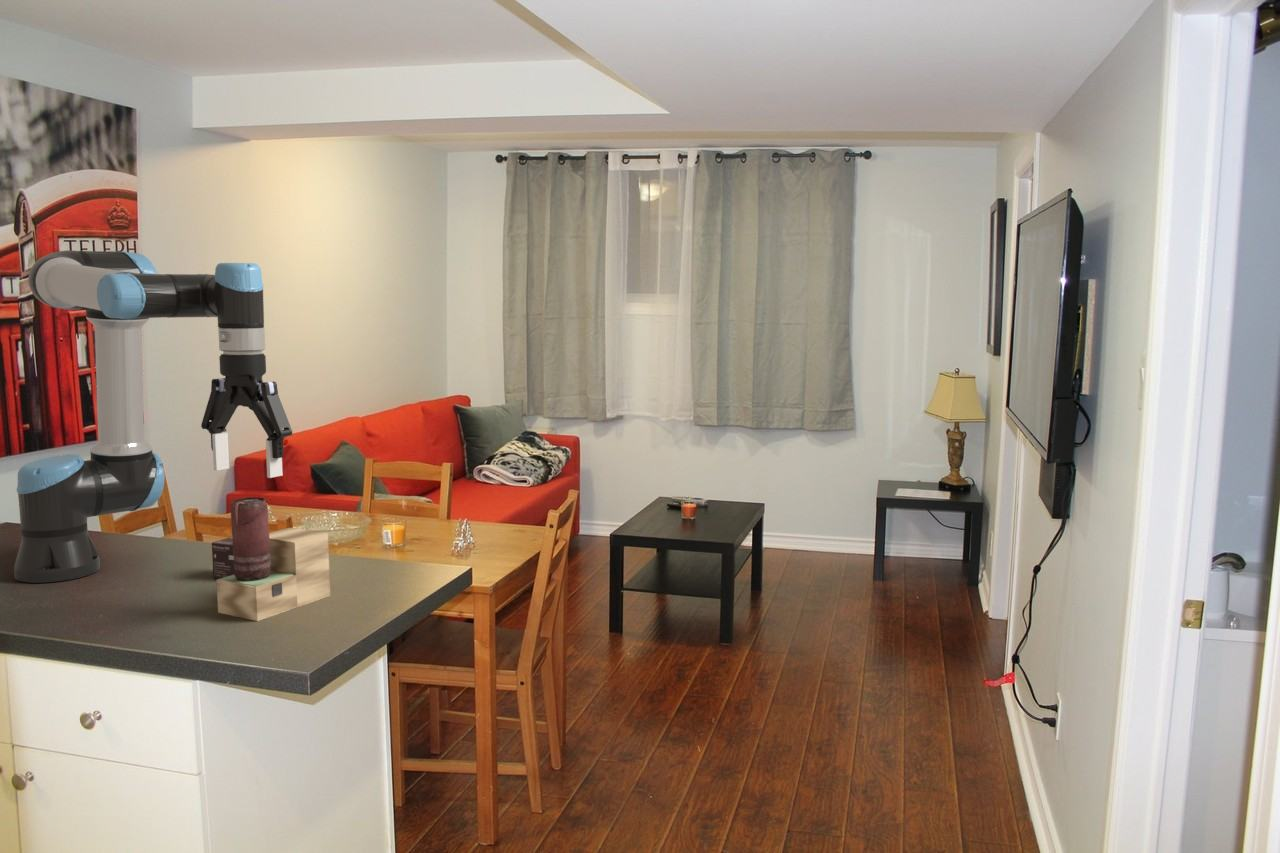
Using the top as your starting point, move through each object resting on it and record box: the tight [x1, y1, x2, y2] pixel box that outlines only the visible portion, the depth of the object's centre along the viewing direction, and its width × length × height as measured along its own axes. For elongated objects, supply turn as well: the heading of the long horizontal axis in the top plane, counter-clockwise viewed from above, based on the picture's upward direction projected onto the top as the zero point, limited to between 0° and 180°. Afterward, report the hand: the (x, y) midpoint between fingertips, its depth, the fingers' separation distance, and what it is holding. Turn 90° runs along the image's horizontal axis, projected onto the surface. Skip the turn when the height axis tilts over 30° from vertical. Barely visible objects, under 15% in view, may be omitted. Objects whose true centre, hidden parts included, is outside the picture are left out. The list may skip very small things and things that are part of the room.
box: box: [211, 536, 234, 579], centre depth 206 cm, size 6×6×7 cm
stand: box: [216, 527, 331, 622], centre depth 187 cm, size 10×17×12 cm, turn 151°
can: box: [230, 496, 271, 581], centre depth 183 cm, size 6×6×14 cm
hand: (247, 473), depth 182 cm, fingers open, 13 cm apart
